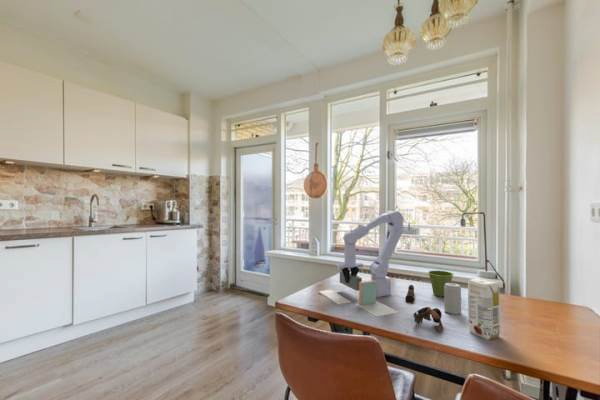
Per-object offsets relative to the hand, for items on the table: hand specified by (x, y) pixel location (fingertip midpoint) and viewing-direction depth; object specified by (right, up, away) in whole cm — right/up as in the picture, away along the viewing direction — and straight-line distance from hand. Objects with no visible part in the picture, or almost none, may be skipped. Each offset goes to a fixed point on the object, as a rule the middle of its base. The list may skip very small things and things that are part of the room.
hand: (350, 282), depth 144 cm
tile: (+6, -6, -14) cm, 16 cm away
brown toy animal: (+24, -6, -37) cm, 45 cm away
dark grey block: (0, -2, 0) cm, 2 cm away
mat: (+8, -6, -19) cm, 22 cm away
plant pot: (+47, -7, 0) cm, 47 cm away
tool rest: (-9, -6, -5) cm, 12 cm away
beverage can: (+40, -6, -23) cm, 47 cm away
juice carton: (+40, -6, -44) cm, 60 cm away
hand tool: (+29, -7, -4) cm, 30 cm away
